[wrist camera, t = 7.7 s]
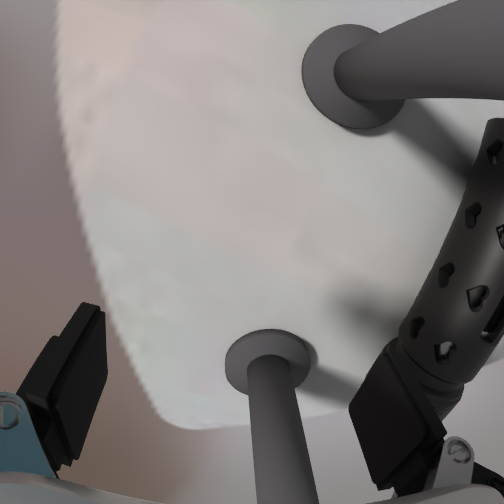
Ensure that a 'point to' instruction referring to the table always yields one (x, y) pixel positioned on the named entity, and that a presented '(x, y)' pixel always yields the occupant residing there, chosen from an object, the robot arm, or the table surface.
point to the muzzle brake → (462, 288)
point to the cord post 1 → (274, 413)
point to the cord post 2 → (407, 63)
